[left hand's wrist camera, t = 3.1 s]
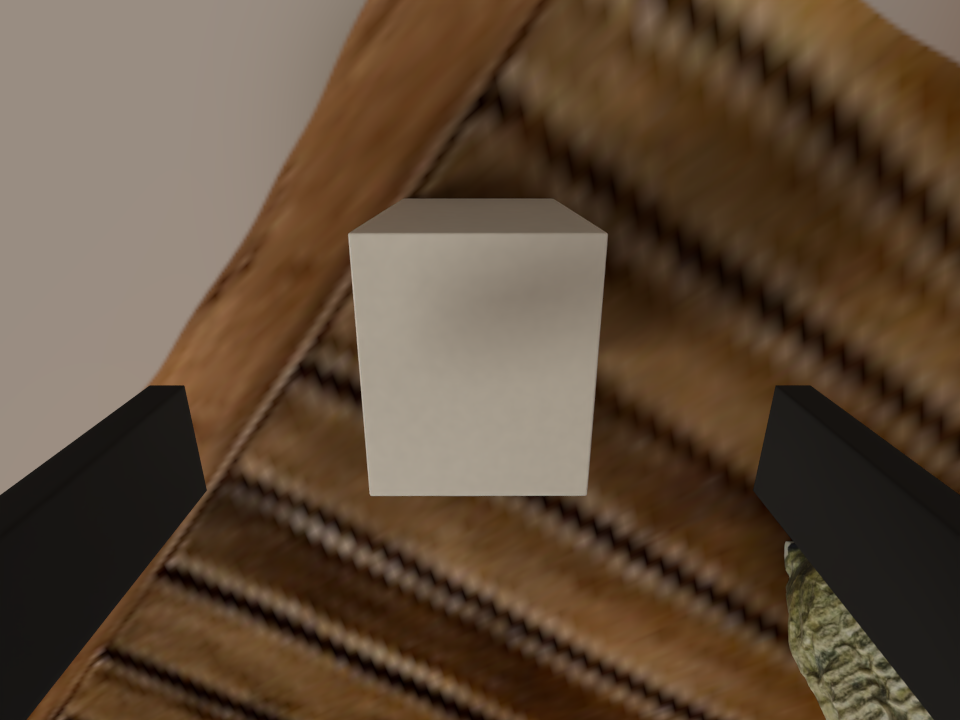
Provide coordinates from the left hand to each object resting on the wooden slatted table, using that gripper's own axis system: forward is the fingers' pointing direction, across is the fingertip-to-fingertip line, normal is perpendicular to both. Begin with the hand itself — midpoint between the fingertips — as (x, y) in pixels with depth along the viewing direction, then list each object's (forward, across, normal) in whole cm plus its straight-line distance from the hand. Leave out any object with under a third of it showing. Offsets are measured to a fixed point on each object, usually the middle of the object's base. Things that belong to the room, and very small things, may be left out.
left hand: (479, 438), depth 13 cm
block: (+16, 0, 0) cm, 16 cm away
